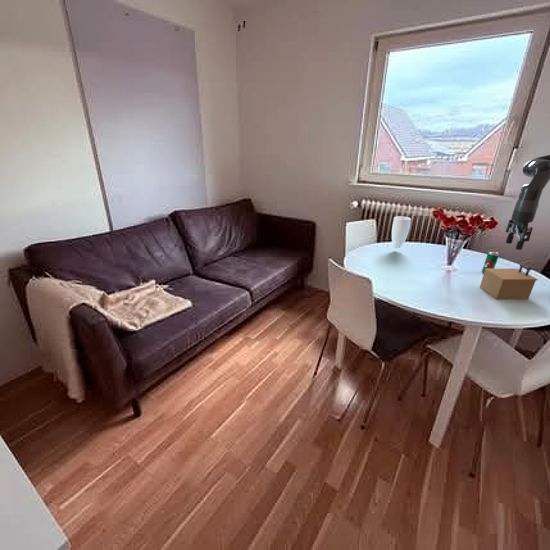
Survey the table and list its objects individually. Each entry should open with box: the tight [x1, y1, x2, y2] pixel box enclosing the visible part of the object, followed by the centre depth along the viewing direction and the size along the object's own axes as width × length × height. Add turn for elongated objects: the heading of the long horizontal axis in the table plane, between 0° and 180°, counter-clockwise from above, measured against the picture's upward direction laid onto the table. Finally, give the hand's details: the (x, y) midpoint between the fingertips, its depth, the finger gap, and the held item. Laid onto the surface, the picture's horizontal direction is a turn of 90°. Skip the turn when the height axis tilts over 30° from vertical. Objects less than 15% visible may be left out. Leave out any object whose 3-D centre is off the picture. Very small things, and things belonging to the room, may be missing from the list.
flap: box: [486, 262, 538, 281], centre depth 141 cm, size 16×12×5 cm
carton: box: [479, 270, 537, 300], centre depth 144 cm, size 15×12×10 cm
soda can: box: [481, 250, 500, 275], centre depth 165 cm, size 5×5×12 cm
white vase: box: [391, 215, 412, 249], centre depth 193 cm, size 10×10×22 cm
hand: (513, 246), depth 137 cm, fingers open, 8 cm apart
